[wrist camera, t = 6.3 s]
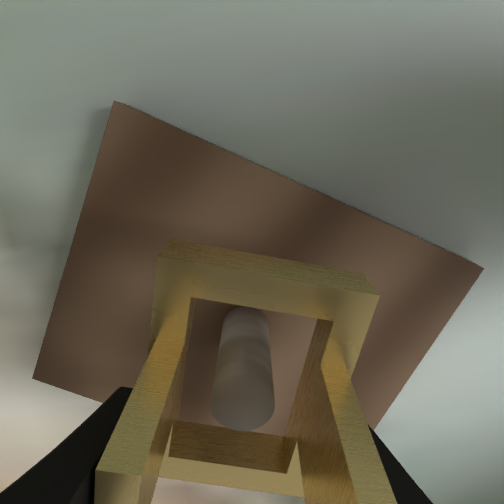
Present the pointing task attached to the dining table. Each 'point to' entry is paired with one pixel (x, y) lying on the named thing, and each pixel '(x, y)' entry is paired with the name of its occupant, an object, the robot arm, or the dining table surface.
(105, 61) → the dining table surface
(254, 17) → the dining table surface
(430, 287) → the post board
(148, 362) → the collar
